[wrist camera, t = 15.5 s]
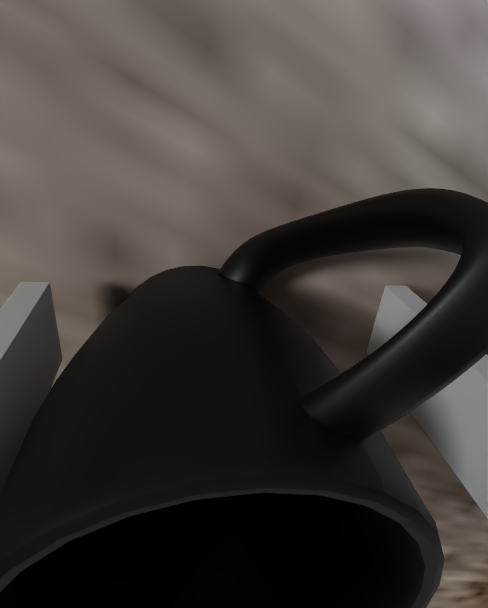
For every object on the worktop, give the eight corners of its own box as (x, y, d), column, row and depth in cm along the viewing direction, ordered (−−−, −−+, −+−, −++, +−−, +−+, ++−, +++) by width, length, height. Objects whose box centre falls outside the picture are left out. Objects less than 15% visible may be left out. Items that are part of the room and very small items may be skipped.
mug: (408, 219, 14) (747, 409, 6) (221, 434, 18) (264, 734, 10) (220, 59, 11) (382, -34, 2) (40, 365, 14) (-134, 733, 6)
